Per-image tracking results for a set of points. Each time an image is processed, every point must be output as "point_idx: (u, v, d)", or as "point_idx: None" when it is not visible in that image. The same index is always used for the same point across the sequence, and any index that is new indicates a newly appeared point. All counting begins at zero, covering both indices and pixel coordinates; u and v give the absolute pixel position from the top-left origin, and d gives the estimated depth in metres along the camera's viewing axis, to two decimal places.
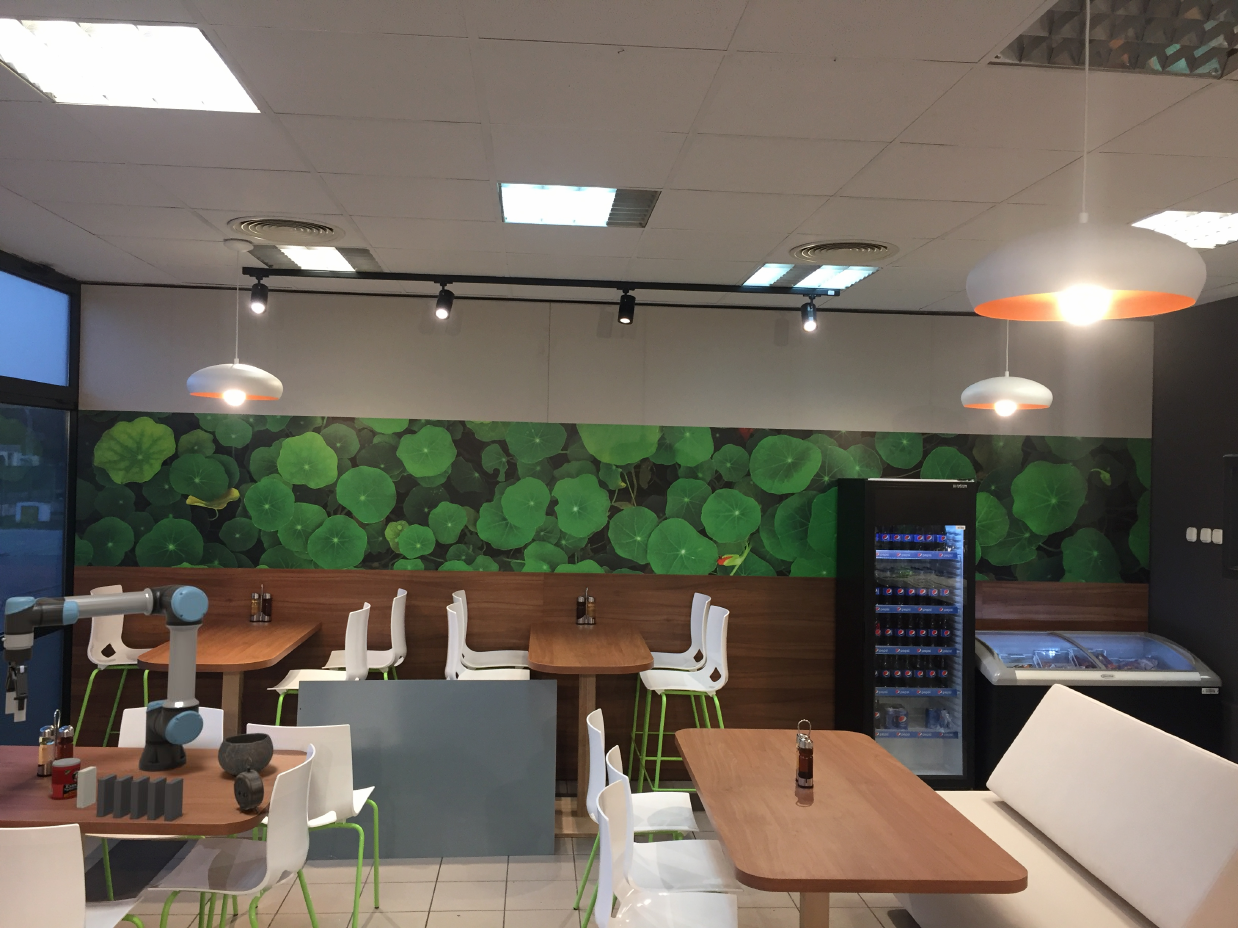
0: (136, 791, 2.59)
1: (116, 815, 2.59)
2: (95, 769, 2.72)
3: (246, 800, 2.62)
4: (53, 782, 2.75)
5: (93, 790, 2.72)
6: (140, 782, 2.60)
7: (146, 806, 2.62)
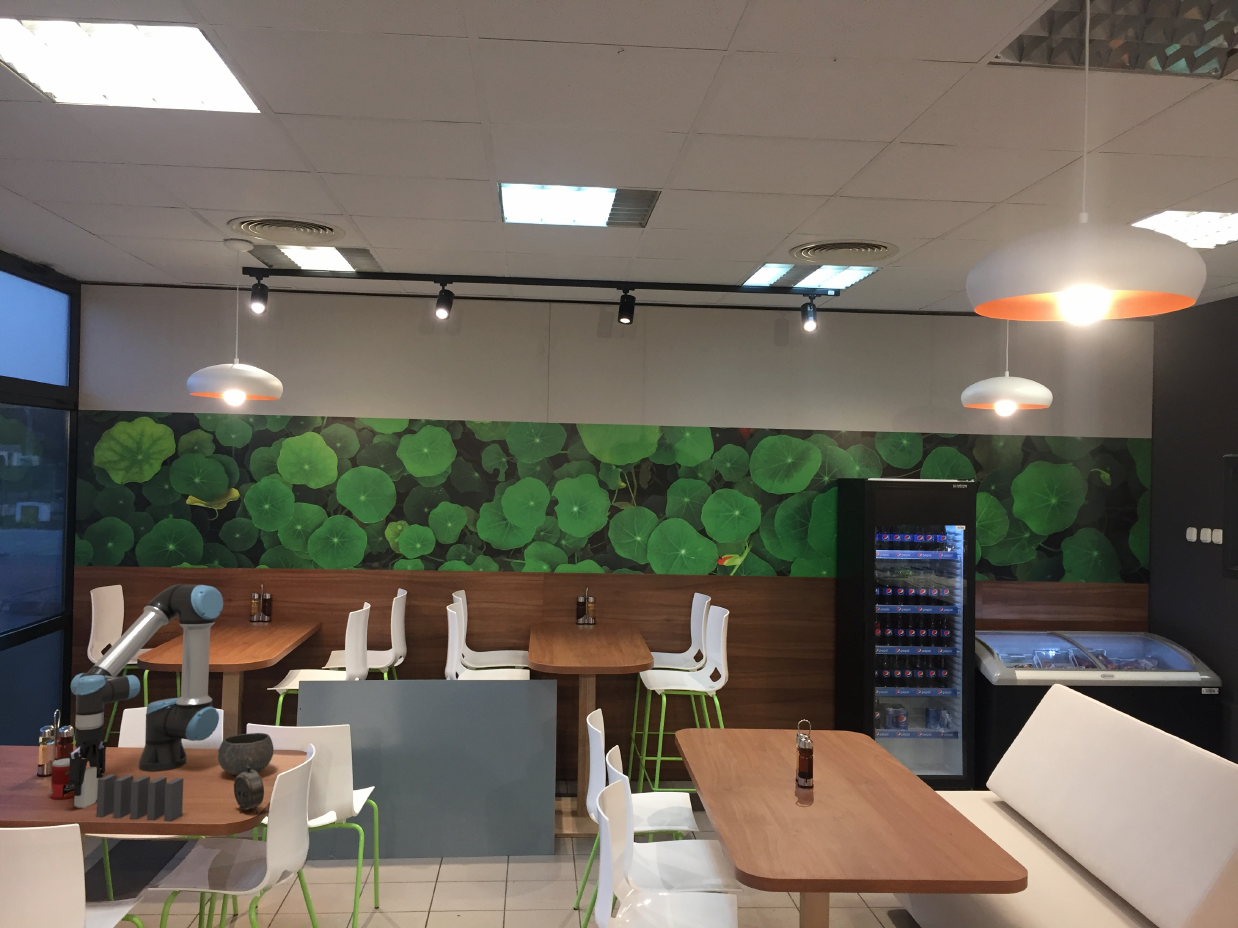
0: (136, 791, 2.59)
1: (116, 815, 2.59)
2: (95, 769, 2.72)
3: (246, 800, 2.62)
4: (53, 782, 2.75)
5: (93, 790, 2.72)
6: (140, 782, 2.60)
7: (146, 806, 2.62)
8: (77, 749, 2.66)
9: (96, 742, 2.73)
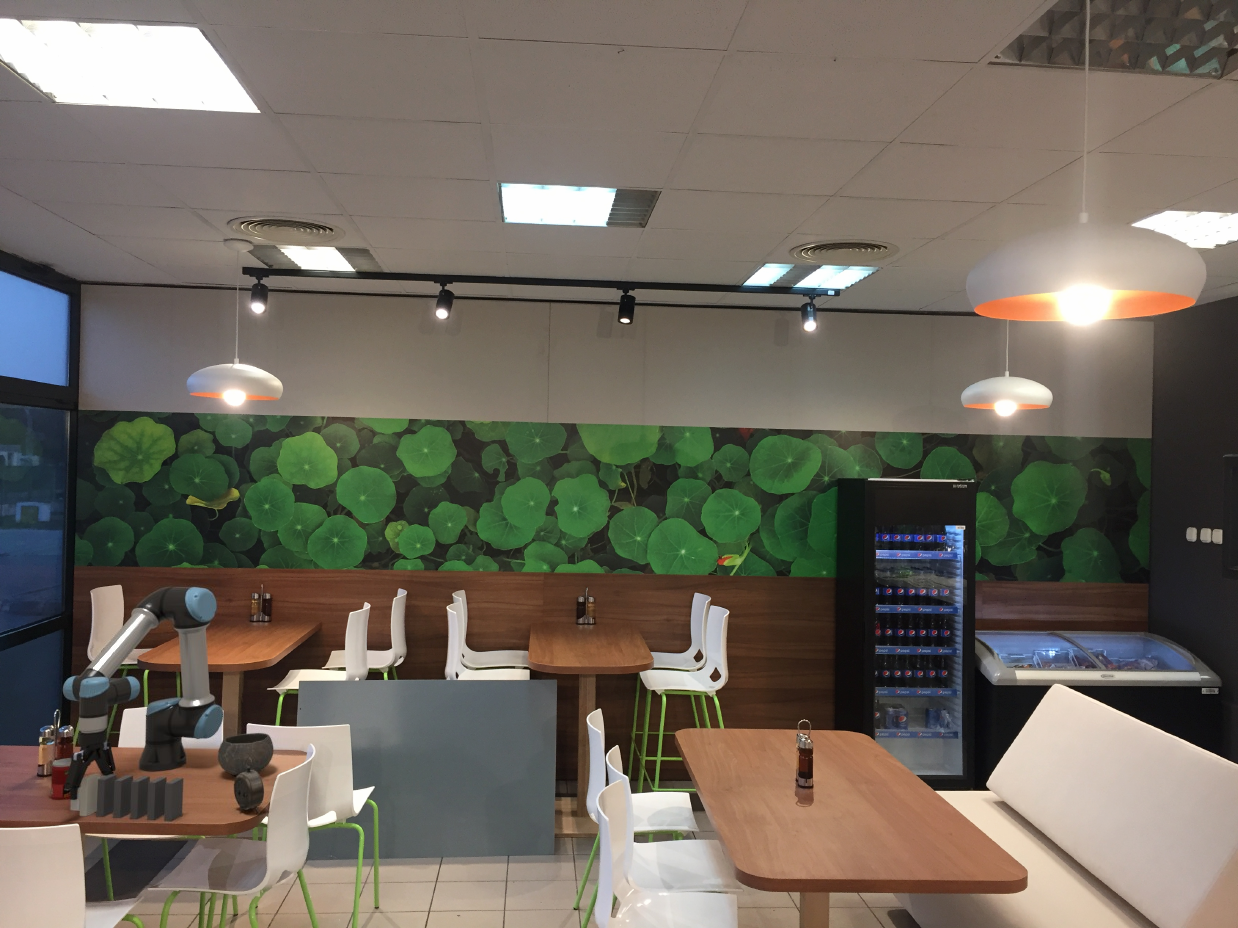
0: (136, 791, 2.59)
1: (116, 815, 2.59)
2: (98, 776, 2.65)
3: (246, 800, 2.62)
4: (53, 782, 2.75)
5: None
6: (140, 782, 2.60)
7: (146, 806, 2.62)
8: (80, 751, 2.60)
9: (100, 747, 2.66)
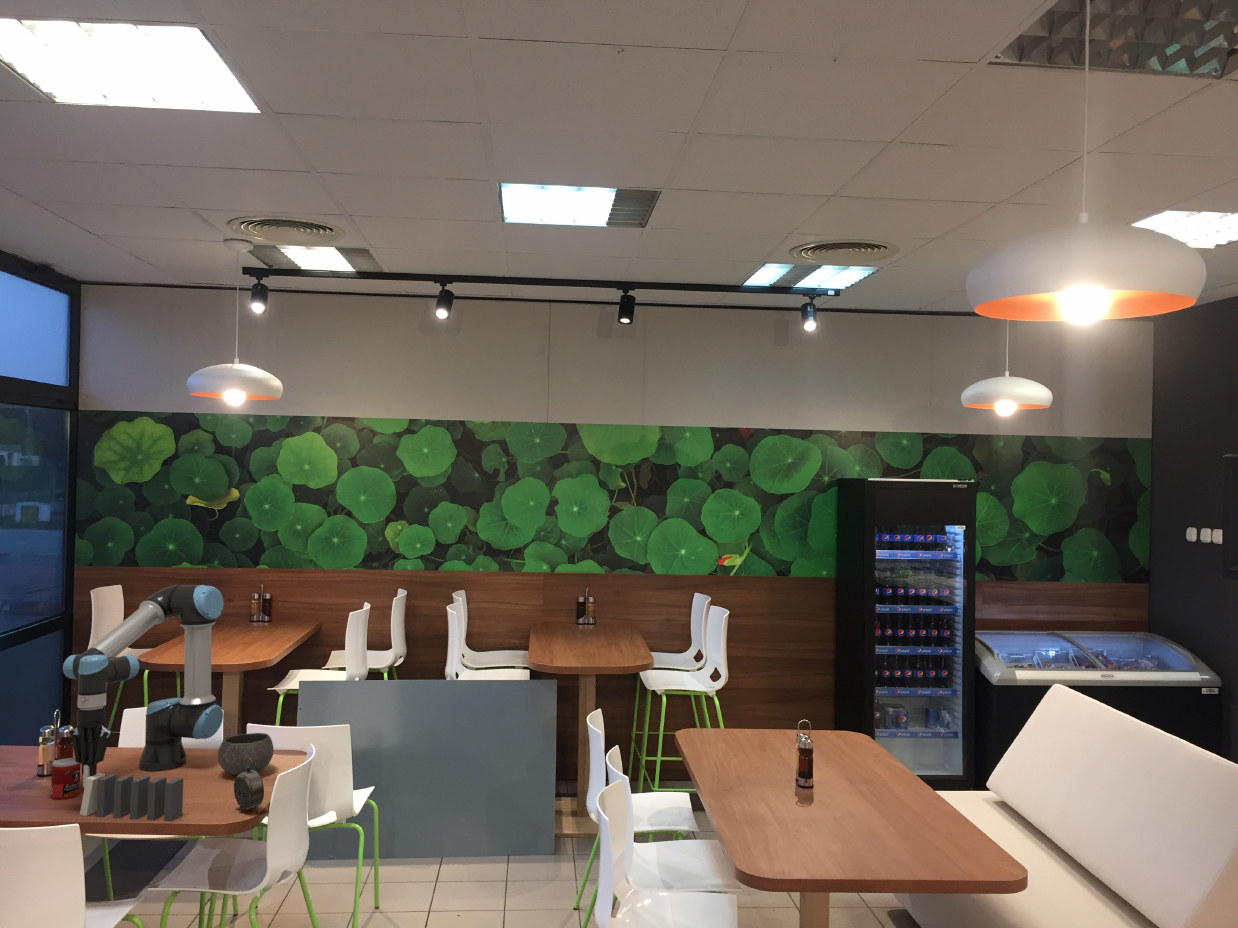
0: (136, 791, 2.59)
1: (116, 815, 2.59)
2: None
3: (246, 800, 2.62)
4: (53, 782, 2.75)
5: None
6: (140, 782, 2.60)
7: (146, 806, 2.62)
8: (103, 728, 2.64)
9: None
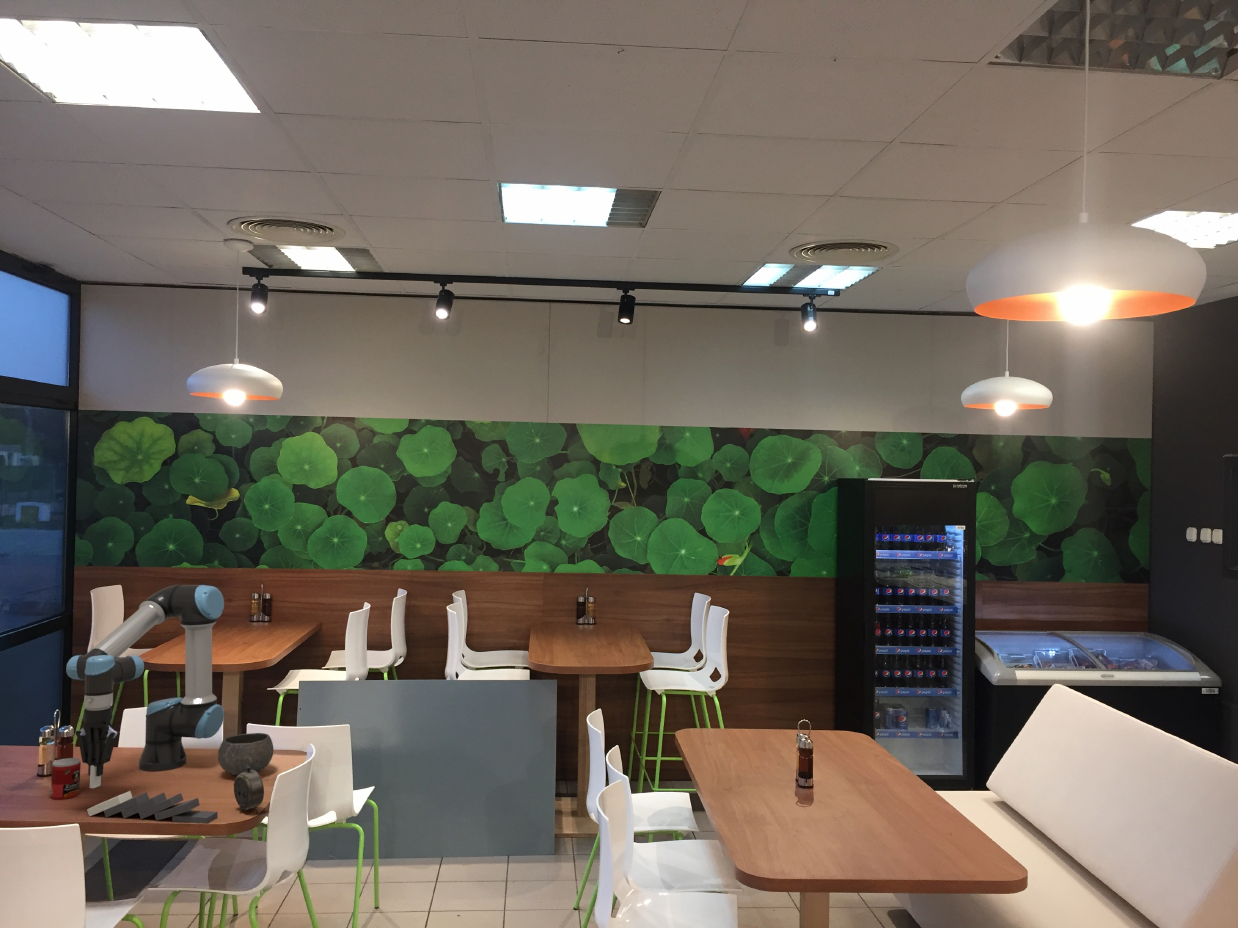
0: (163, 807, 2.57)
1: (124, 813, 2.59)
2: (129, 798, 2.64)
3: (246, 800, 2.62)
4: (53, 782, 2.75)
5: None
6: (172, 805, 2.57)
7: None
8: (110, 729, 2.63)
9: None
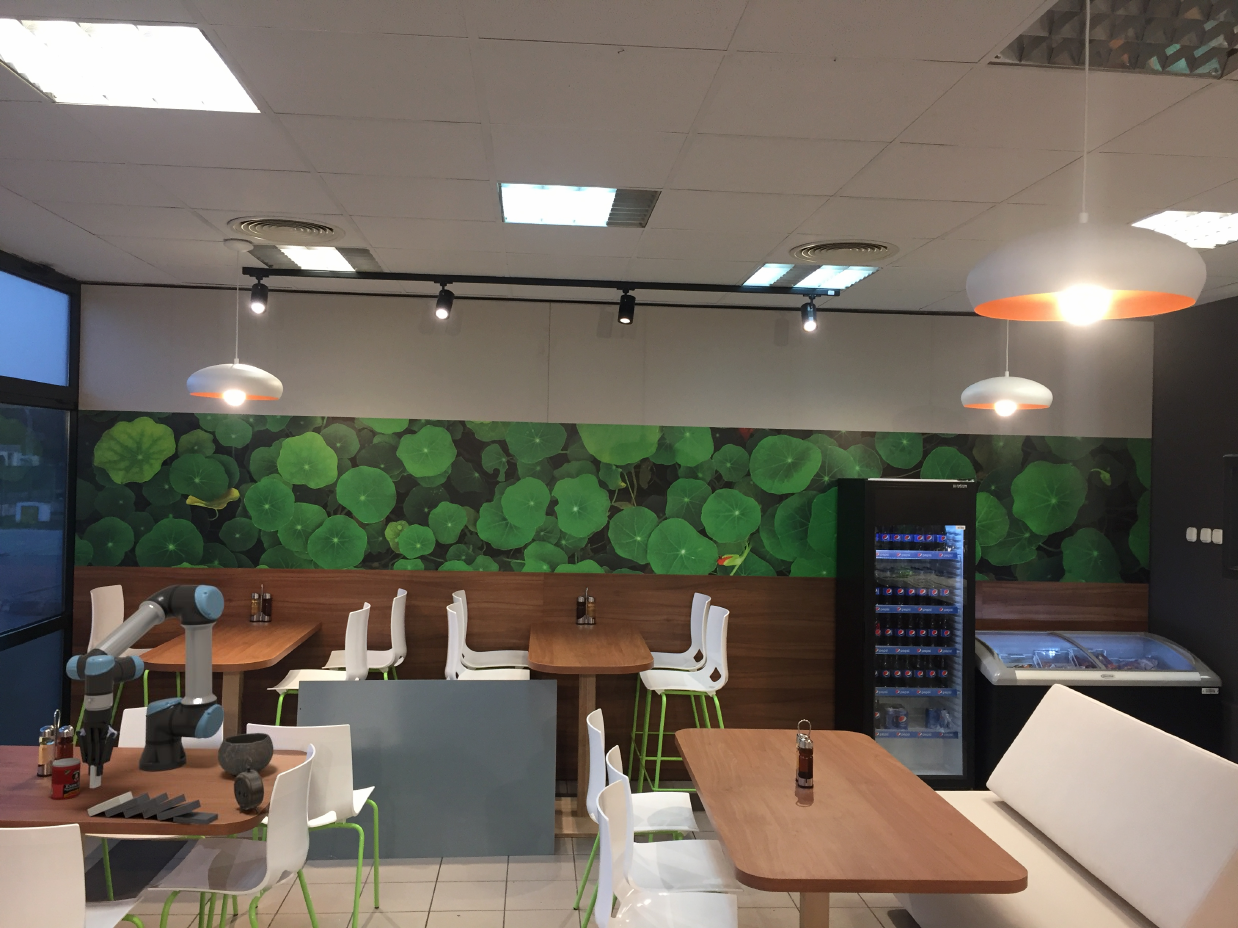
0: (165, 807, 2.57)
1: (126, 813, 2.59)
2: (129, 799, 2.63)
3: (246, 800, 2.62)
4: (53, 782, 2.75)
5: None
6: (174, 805, 2.57)
7: None
8: (110, 729, 2.63)
9: None
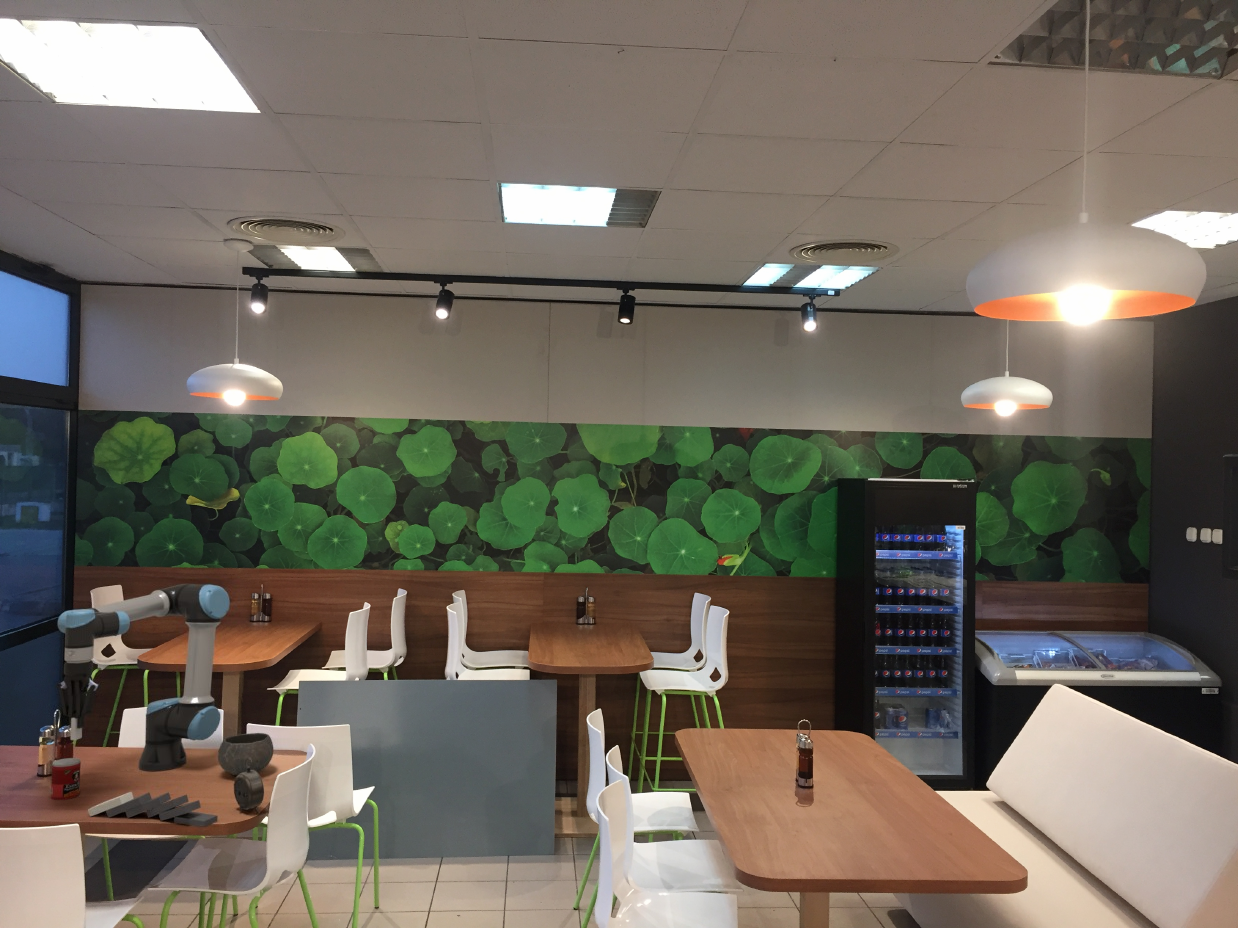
0: (166, 807, 2.57)
1: (128, 813, 2.59)
2: (130, 799, 2.64)
3: (246, 800, 2.62)
4: (53, 782, 2.75)
5: None
6: (175, 806, 2.57)
7: None
8: (91, 681, 2.65)
9: None
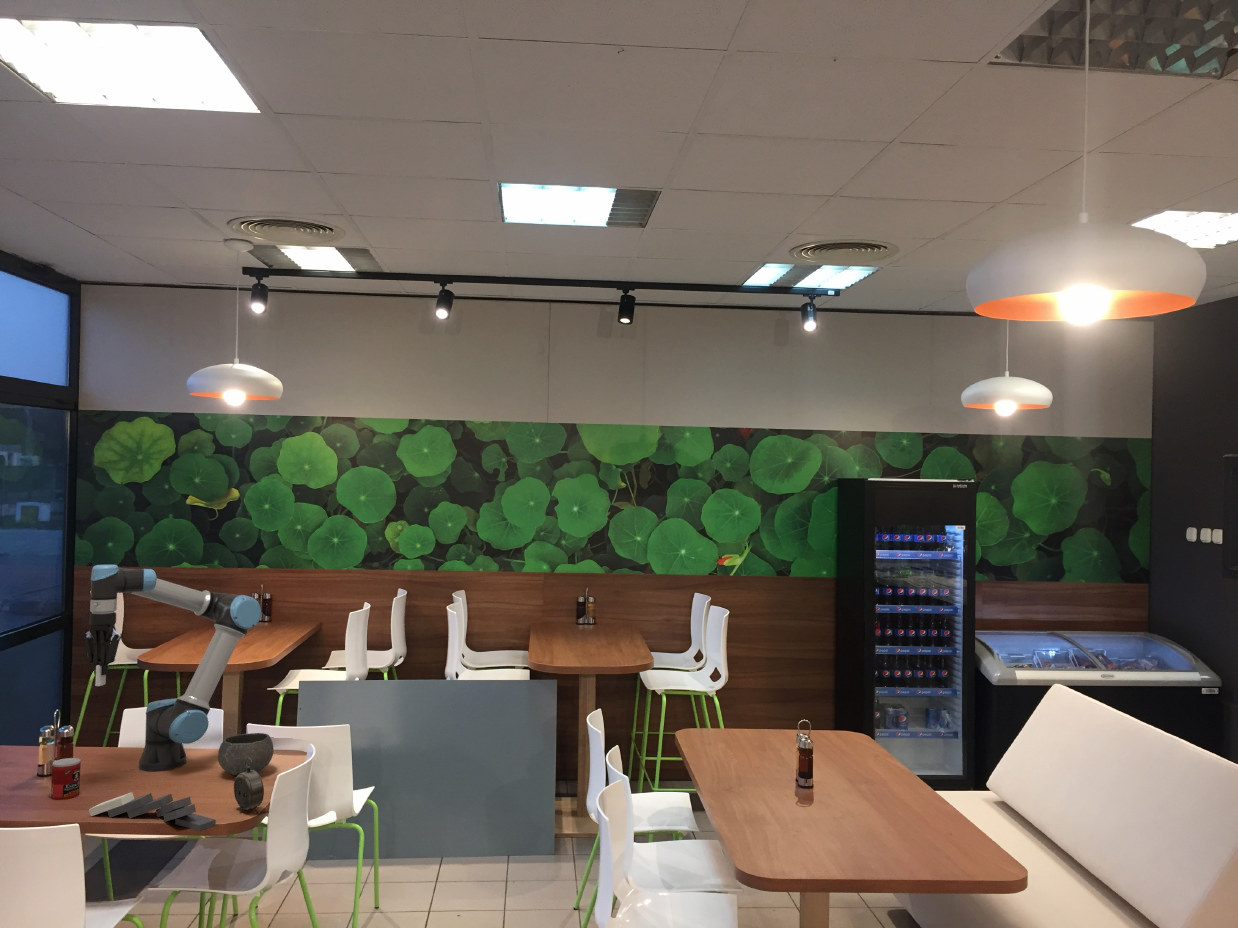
0: (169, 809, 2.56)
1: (130, 813, 2.59)
2: None
3: (246, 800, 2.62)
4: (53, 782, 2.75)
5: None
6: (176, 808, 2.55)
7: None
8: (114, 631, 2.84)
9: None
